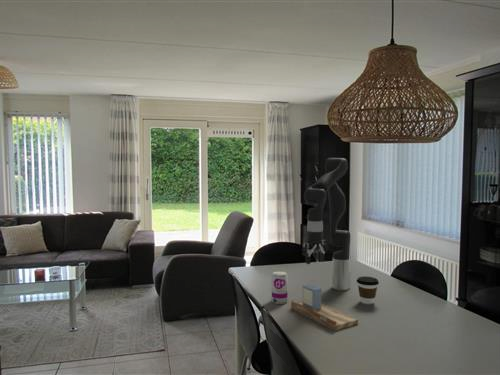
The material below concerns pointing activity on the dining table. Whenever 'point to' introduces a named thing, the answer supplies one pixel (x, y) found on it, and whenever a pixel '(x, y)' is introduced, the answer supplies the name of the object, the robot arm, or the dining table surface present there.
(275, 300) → the supplement can
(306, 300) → the carton
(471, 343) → the dining table surface
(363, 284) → the coffee cup
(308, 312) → the wooden plank
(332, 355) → the dining table surface
